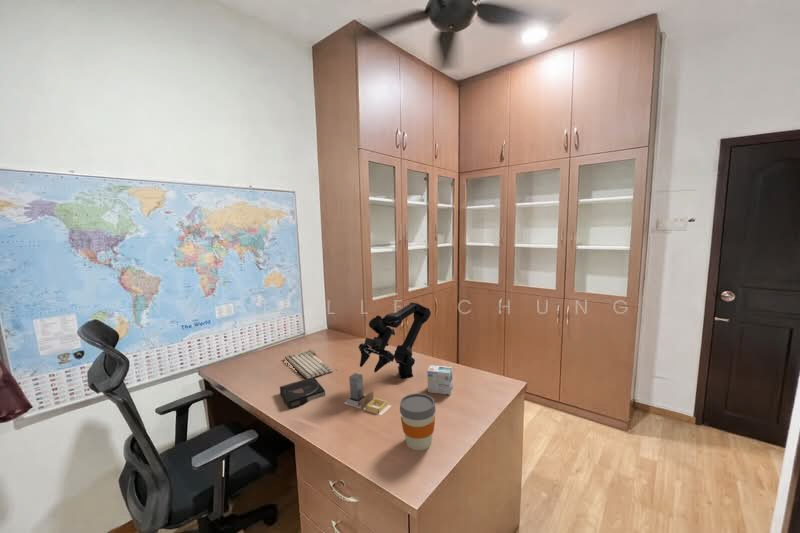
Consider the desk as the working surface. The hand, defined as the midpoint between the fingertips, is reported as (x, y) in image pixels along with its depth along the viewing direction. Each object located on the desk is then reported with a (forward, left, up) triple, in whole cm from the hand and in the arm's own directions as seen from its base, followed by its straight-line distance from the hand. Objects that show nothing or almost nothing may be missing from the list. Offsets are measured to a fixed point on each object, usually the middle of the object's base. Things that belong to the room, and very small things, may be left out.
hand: (367, 369), depth 145 cm
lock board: (+2, +8, -13) cm, 16 cm away
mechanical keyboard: (+30, -45, -14) cm, 56 cm away
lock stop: (+6, +4, -12) cm, 14 cm away
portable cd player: (+30, -10, -14) cm, 35 cm away
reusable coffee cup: (-14, +36, -13) cm, 41 cm away
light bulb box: (-33, +4, -13) cm, 36 cm away
